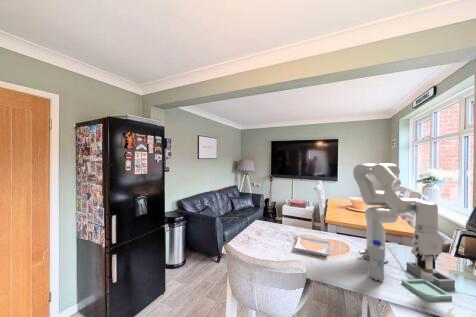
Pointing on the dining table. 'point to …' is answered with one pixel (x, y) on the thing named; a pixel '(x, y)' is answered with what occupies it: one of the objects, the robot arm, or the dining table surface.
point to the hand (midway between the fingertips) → (426, 267)
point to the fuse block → (439, 278)
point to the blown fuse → (428, 269)
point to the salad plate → (323, 251)
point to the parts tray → (426, 290)
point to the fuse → (416, 262)
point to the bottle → (376, 261)
